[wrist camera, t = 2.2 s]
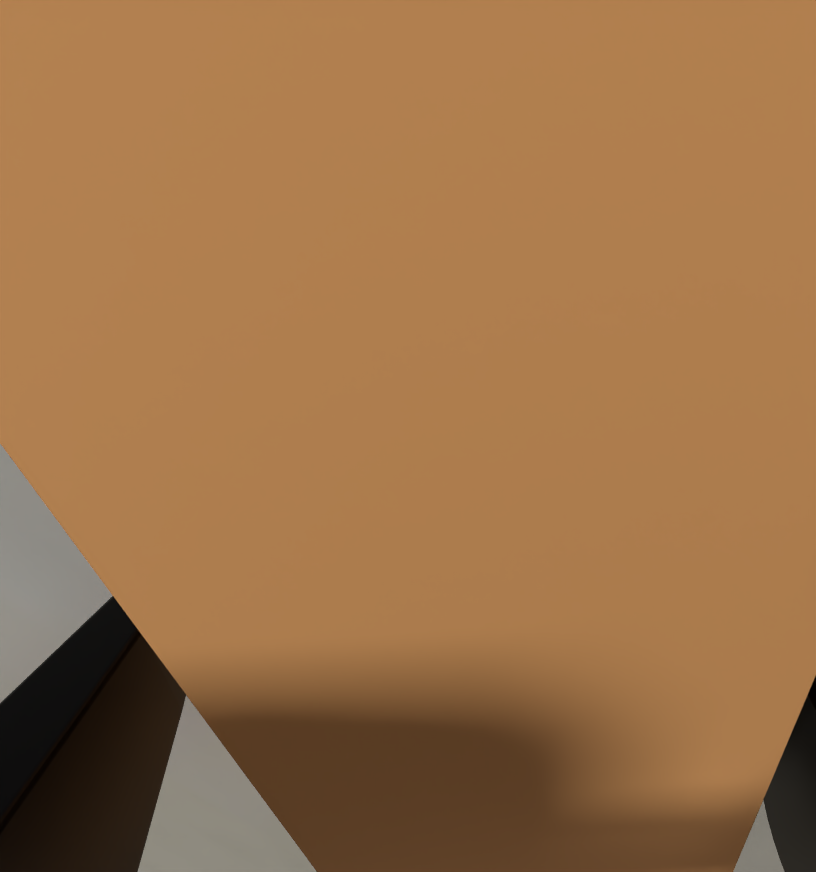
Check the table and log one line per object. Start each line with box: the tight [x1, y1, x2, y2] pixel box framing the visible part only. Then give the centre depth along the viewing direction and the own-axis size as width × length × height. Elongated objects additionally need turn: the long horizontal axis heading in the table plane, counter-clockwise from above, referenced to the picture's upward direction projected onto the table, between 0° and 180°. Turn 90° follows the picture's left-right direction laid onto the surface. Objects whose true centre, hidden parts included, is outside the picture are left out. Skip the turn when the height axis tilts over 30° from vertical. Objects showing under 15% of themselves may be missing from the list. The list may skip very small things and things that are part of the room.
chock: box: [0, 0, 816, 872], centre depth 8 cm, size 5×16×5 cm, turn 10°
